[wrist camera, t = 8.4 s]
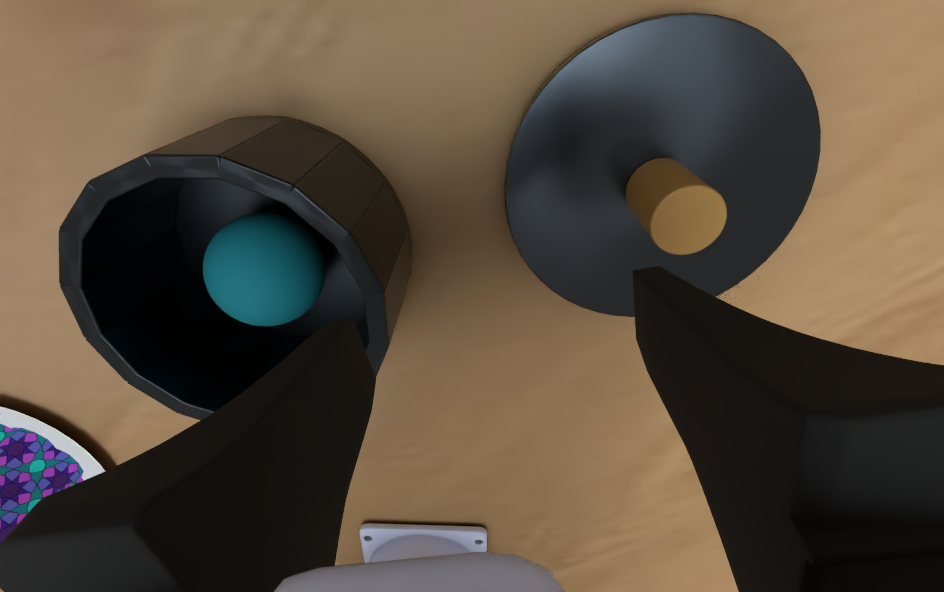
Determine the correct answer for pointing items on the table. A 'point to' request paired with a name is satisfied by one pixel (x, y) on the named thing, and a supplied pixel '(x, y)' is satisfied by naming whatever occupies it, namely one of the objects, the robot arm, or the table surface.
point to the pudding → (35, 465)
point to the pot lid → (662, 159)
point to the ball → (264, 269)
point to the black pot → (187, 237)
